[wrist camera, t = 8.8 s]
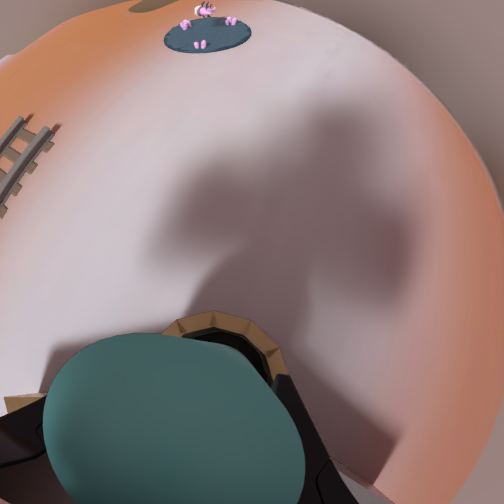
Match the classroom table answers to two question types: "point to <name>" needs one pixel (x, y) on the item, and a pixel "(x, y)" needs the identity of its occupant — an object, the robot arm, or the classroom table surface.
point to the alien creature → (207, 33)
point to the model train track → (20, 157)
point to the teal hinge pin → (169, 426)
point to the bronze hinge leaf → (195, 326)
